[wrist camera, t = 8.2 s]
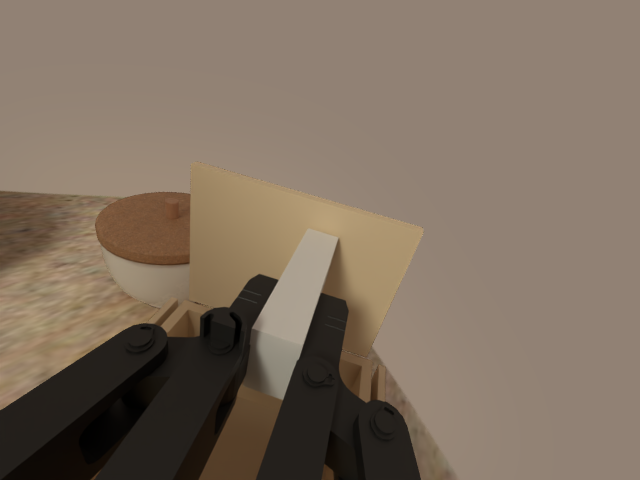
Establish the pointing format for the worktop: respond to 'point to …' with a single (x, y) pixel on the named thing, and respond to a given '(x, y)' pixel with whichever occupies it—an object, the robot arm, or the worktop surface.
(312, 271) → the robot arm
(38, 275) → the worktop surface
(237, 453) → the carton
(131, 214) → the lidded jar
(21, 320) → the worktop surface
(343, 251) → the flap
